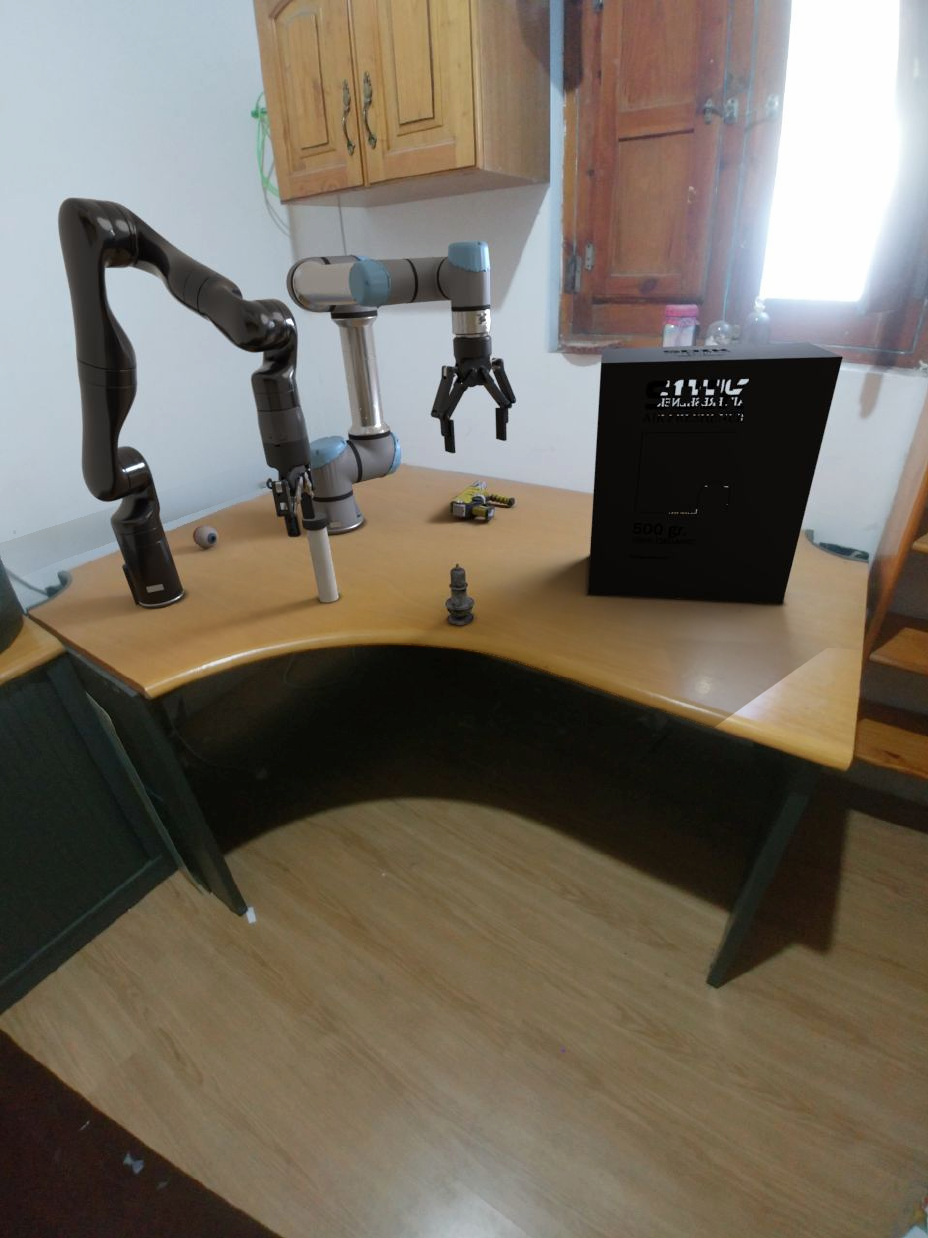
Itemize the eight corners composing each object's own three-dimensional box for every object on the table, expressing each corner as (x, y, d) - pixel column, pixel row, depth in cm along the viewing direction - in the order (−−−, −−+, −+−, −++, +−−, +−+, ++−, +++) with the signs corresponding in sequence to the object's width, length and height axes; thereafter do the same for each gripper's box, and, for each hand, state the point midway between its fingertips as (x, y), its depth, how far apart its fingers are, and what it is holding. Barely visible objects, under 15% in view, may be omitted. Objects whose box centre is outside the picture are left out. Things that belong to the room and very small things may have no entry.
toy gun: (523, 485, 181) (476, 478, 185) (501, 509, 161) (448, 500, 165) (521, 500, 184) (475, 493, 187) (499, 525, 163) (447, 517, 167)
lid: (319, 519, 126) (318, 510, 125) (333, 525, 123) (331, 515, 121) (298, 526, 123) (296, 517, 122) (311, 532, 120) (309, 523, 119)
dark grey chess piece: (472, 626, 117) (469, 570, 111) (442, 624, 118) (438, 569, 112) (477, 611, 122) (475, 557, 116) (449, 610, 123) (445, 556, 117)
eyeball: (207, 553, 156) (200, 531, 153) (191, 549, 159) (185, 527, 156) (225, 545, 160) (220, 523, 157) (210, 541, 163) (204, 520, 160)
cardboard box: (760, 561, 136) (807, 342, 113) (782, 604, 118) (842, 356, 96) (590, 554, 143) (602, 348, 121) (587, 594, 126) (601, 362, 104)
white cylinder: (332, 592, 134) (317, 513, 124) (342, 597, 131) (328, 518, 122) (316, 598, 131) (300, 519, 122) (326, 604, 129) (310, 523, 119)
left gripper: (277, 426, 106) (295, 513, 115) (246, 447, 94) (268, 543, 102) (318, 424, 106) (333, 512, 114) (292, 445, 94) (311, 542, 102)
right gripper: (429, 342, 108) (437, 460, 118) (533, 329, 120) (532, 437, 131) (407, 340, 113) (417, 454, 124) (508, 328, 125) (510, 432, 136)
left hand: (302, 527), depth 108 cm, fingers open, 8 cm apart
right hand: (476, 445), depth 127 cm, fingers open, 13 cm apart
